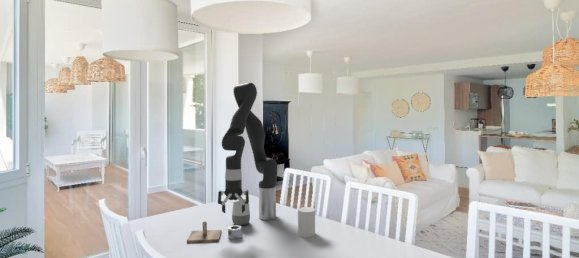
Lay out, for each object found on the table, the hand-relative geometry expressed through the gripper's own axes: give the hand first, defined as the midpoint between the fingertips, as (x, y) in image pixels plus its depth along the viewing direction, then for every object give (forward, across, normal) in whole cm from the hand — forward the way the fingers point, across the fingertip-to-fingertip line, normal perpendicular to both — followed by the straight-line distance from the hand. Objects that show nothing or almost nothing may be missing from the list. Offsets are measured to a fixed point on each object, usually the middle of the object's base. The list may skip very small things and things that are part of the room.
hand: (233, 212), depth 157 cm
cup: (+12, -35, 0) cm, 36 cm away
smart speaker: (+12, -2, -18) cm, 22 cm away
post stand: (+12, +13, -1) cm, 18 cm away
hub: (+12, -1, 0) cm, 12 cm away
